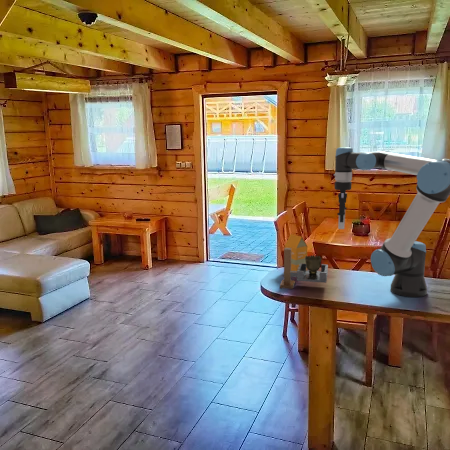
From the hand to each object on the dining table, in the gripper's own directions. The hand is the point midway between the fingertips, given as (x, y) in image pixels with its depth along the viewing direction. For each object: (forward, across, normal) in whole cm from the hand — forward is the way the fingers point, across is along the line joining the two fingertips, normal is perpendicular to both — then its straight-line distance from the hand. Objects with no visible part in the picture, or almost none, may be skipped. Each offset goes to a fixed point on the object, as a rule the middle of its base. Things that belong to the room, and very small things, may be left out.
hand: (341, 225), depth 210 cm
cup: (+21, +12, -12) cm, 27 cm away
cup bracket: (+27, +14, -16) cm, 34 cm away
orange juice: (+27, -6, -22) cm, 35 cm away
